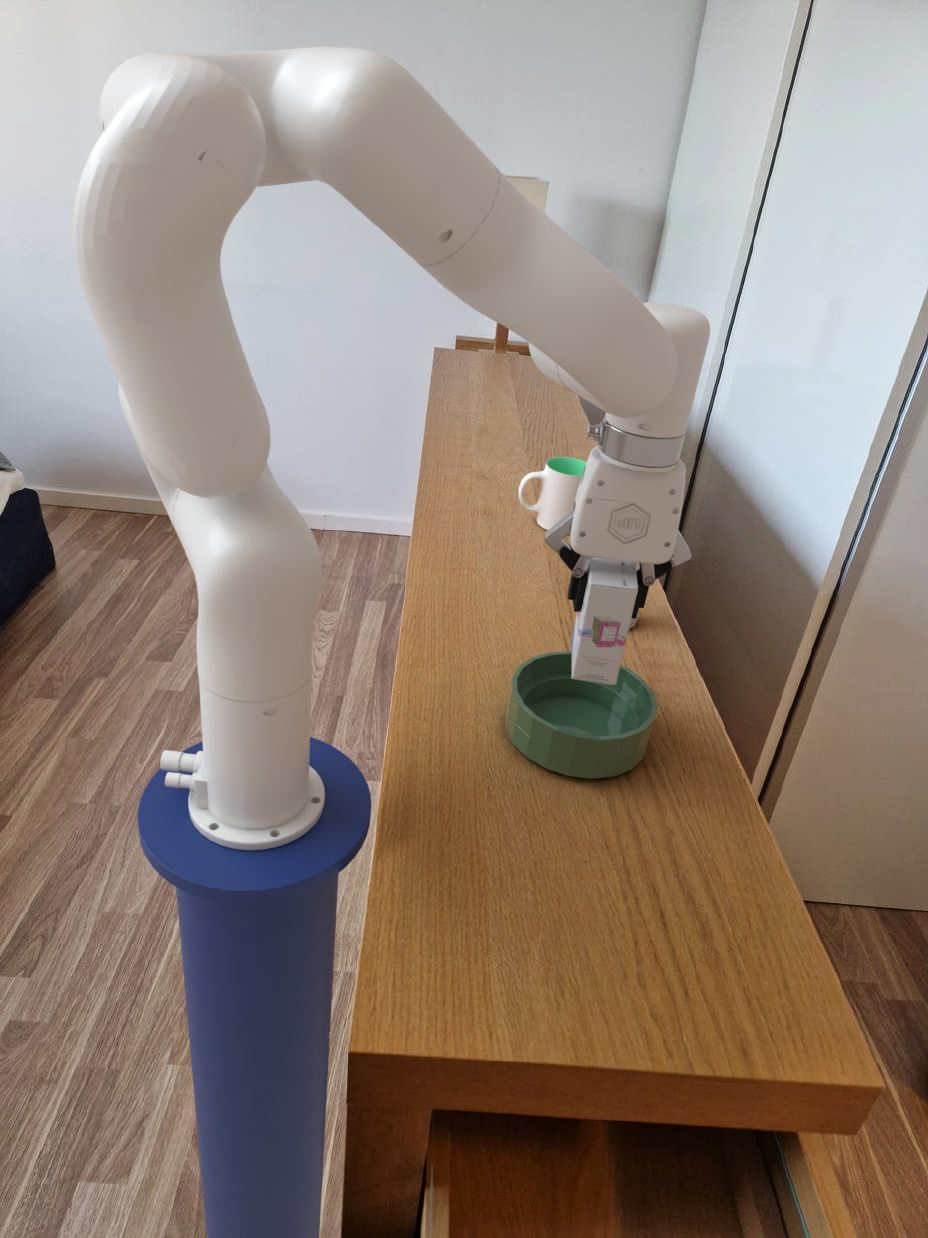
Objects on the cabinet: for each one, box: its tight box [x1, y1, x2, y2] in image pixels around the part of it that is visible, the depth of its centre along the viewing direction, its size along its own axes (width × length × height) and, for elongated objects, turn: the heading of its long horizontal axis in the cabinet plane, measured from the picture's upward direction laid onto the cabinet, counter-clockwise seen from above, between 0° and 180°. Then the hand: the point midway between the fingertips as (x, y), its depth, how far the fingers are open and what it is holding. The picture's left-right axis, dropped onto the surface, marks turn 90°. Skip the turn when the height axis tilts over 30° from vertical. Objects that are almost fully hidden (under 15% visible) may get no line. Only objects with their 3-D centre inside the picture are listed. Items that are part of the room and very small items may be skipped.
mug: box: [517, 456, 587, 535], centre depth 146 cm, size 12×8×10 cm
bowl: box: [505, 650, 659, 780], centre depth 98 cm, size 16×16×6 cm
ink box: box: [571, 558, 638, 685], centre depth 92 cm, size 9×5×12 cm, turn 174°
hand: (603, 607), depth 91 cm, fingers closed on ink box, 5 cm apart
